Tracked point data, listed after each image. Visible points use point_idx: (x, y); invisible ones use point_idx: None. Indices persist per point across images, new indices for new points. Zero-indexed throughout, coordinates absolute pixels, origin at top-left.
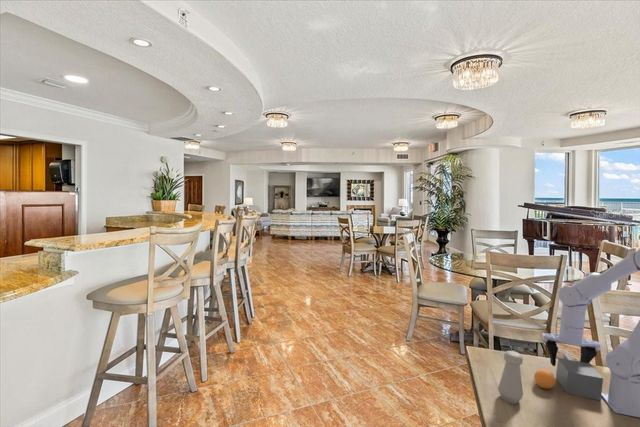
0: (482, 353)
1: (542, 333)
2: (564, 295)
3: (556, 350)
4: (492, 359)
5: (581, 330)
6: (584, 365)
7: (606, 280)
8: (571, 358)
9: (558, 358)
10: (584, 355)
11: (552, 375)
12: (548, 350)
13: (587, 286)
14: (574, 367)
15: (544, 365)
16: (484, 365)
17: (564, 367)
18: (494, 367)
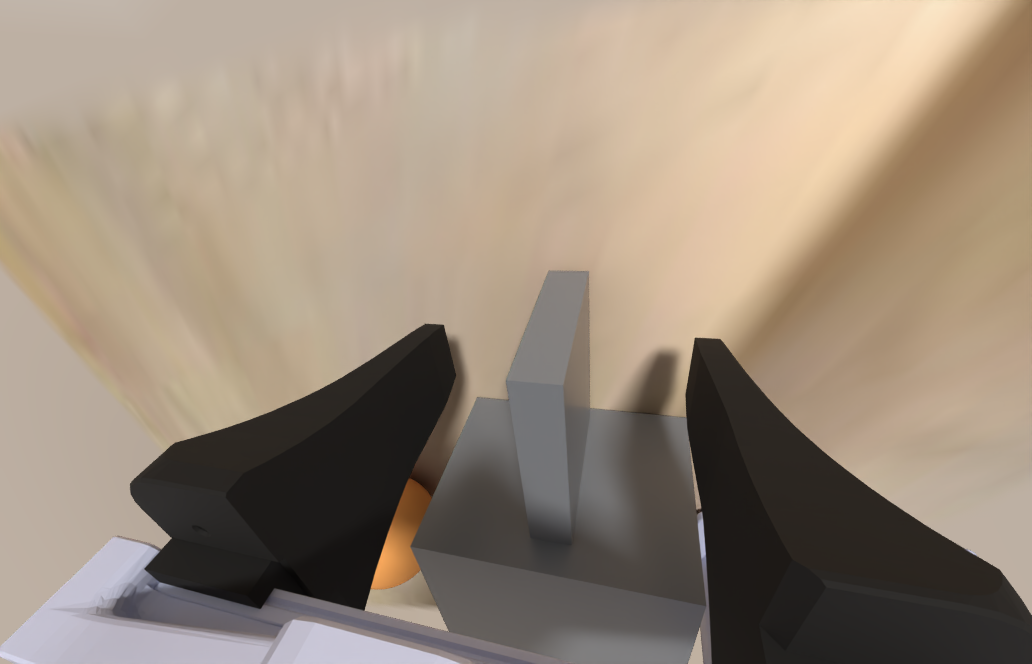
0: (24, 227)
1: (12, 660)
2: None
3: (366, 564)
4: (115, 291)
5: None
6: (615, 622)
7: None
8: (564, 471)
9: (413, 553)
10: (717, 565)
11: (402, 581)
12: (328, 389)
13: None
14: (514, 634)
15: (410, 238)
16: (135, 373)
17: (447, 622)
18: (176, 378)
